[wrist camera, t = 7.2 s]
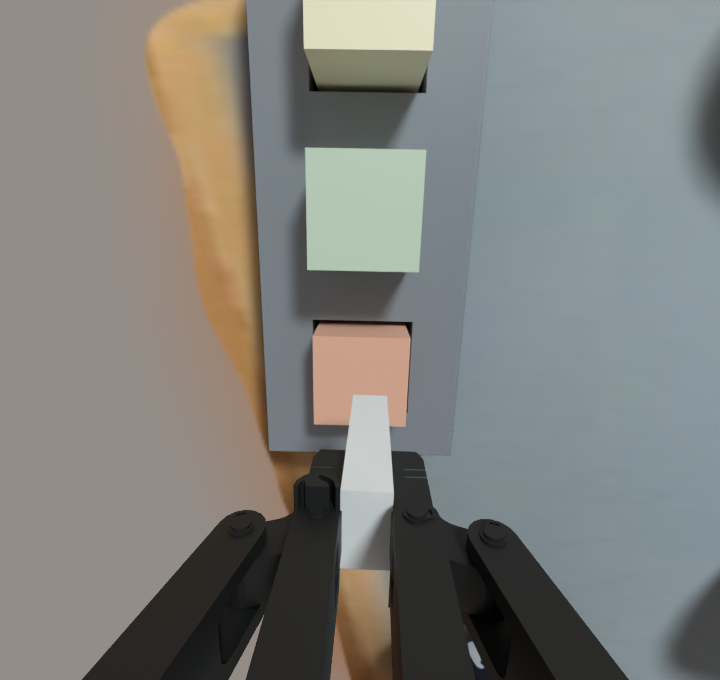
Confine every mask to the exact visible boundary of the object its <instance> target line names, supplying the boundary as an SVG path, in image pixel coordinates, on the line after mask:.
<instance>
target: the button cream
mask: <svg viewBox="0 0 720 680" xmlns="http://www.w3.org/2000/svg"><path fill="white" fill-rule="evenodd" d="M435 10H436V0H303V31H304V51H305V53H306V56H307V59H308V62H309V65H310V68H311V70H312V73H313V76H314V79H315V82H316V85H317V87H318V90H319V92H381V93H418V90H419V87H420V84H421V82H422V79H423V76H424V74H425V71H426V68H427V65H428V63H429V60H430V57H431V55H432V52H433V42H434V26H435Z"/></svg>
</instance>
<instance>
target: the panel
mask: <svg viewBox="0 0 720 680" xmlns="http://www.w3.org/2000/svg"><path fill="white" fill-rule="evenodd" d="M493 7H494V0H436V10H435V26H434V42H433V52H432V55H431V57H430V60H429V63H428V65H427V68H426V71H425V74H424V76H423V79H422V82H421V84H420V87H419V90H418V93H381V92H319V90H318V87H317V85H316V82H315V79H314V76H313V73H312V70H311V68H310V65H309V62H308V59H307V56H306V53H305V51H304V31H303V0H246V8H247V28H248V47H249V66H250V86H251V105H252V125H253V144H254V164H255V183H256V202H257V222H258V241H259V261H260V280H261V300H262V319H263V338H264V358H265V377H266V397H267V416H268V436H269V451H294V452H319V451H320V450H321V449H331V450H346V445H347V438H348V430H349V425H318V424H314V401H313V334H314V332H315V330H316V328H317V326H318V324H319V322H320V320H352V321H396V322H404V323H405V325H406V328H407V330H408V333H409V336H410V338H411V341H410V358H409V376H408V393H407V410H406V427H394V426H389V430H390V444H391V451H409V452H417V454H418V455H441V456H451V446H452V435H453V425H454V415H455V404H456V394H457V383H458V373H459V362H460V352H461V341H462V331H463V320H464V310H465V300H466V289H467V279H468V268H469V258H470V247H471V237H472V226H473V216H474V205H475V195H476V185H477V174H478V164H479V153H480V143H481V132H482V122H483V111H484V101H485V90H486V80H487V69H488V59H489V49H490V38H491V28H492V17H493ZM305 148H359V149H415V150H426V166H425V182H424V198H423V215H422V231H421V248H420V264H419V272H377V271H330V270H307V225H306V170H305Z"/></svg>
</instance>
